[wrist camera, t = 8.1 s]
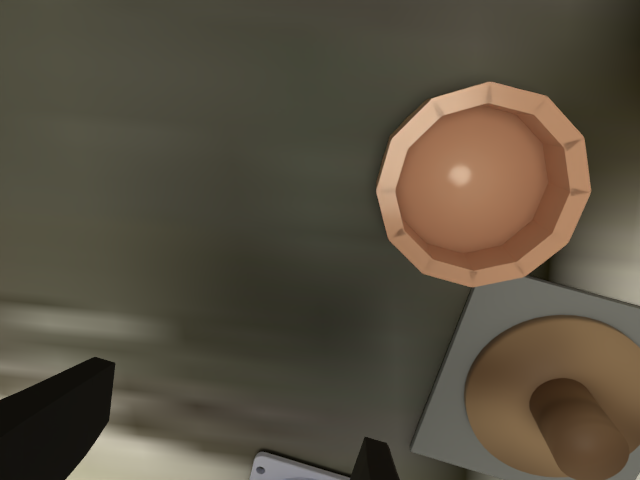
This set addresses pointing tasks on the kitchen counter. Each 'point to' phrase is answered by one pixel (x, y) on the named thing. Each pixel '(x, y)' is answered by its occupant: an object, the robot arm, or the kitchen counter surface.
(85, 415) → the robot arm
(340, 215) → the kitchen counter surface
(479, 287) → the mat
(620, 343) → the lid
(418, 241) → the bowl
